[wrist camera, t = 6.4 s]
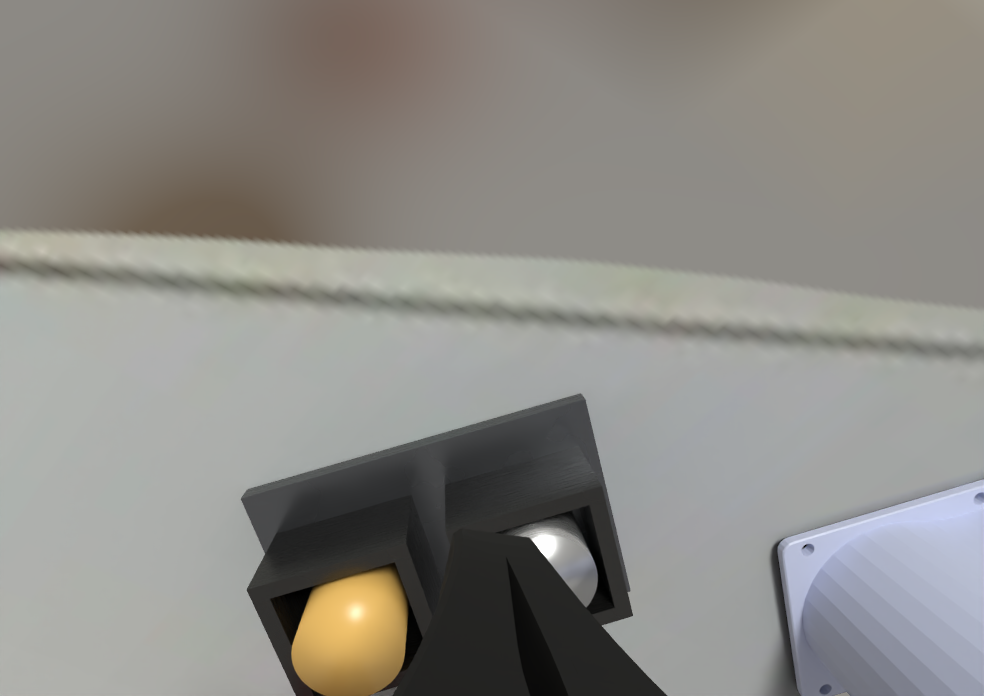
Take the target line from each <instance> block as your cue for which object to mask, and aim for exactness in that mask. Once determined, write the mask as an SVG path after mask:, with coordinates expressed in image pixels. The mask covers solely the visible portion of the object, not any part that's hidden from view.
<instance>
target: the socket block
mask: <svg viewBox="0 0 984 696" xmlns="http://www.w3.org/2000/svg"><path fill="white" fill-rule="evenodd" d="M241 500H242V502H243V505H244V507H245V509H246V511H247V514H248V516H249V518H250V520H251V523H252V525H253V527H254V529H255V532H256V534H257V536H258V538H259V541H260V543H261V545H262V547H263V550H264V552H265V556H264V557H263V559H262V561H261V563H260V565H259V567H258V569H257V571H256V573H255V575H254V577H253V579H252V581H251V583H250V584H249V586H248V588H247V592H248V594H249V596H250V598H251V600H252V602H253V604H254V607H255V609H256V611H257V613H258V615H259V617H260V619H261V622H262V624H263V626H264V628H265V630H266V632H267V634H268V637H269V639H270V641H271V643H272V645H273V647H274V649H275V652H276V654H277V656H278V658H279V660H280V662H281V664H282V667H283V669H284V671H285V673H286V675H287V677H288V679H289V682H290V684H291V686H292V688H293V690H294V692H295V694H296V696H325V695H323V694H320V693H318V692H316V691H314V690H313V689H311V688H310V687H308V686H307V685H306V684H305V683H304V682H303V681H302V680H301V679H300V677H299V676H298V675H297V673H296V671H295V669H294V666H293V663H292V655H291V651H292V645H293V642H294V639H295V636H296V633H297V630H298V627H299V624H300V621H301V618H302V615H303V613H304V610H305V607H306V604H307V601H308V598H309V595H310V592H311V590H312V587H313V586H315V585H319V584H322V583H325V582H329V581H332V580H336V579H339V578H342V577H346V576H349V575H353V574H356V573H360V572H363V571H366V570H370V569H373V568H377V567H380V566H383V565H387V564H390V563H394V562H395V564H396V567H397V570H398V572H399V575H400V578H401V580H402V583H403V586H404V589H405V591H406V594H407V597H408V599H409V611H408V622H407V634H406V646H405V657H404V662H403V665H402V668H401V669H400V671H399V673H398V675H397V676H396V677H395V679H394V680H393V681H392V682H391V683H390V684H388V685H387V686H386V687H385V688H383V689H382V690H380V691H383V690H386V689H390V688H393V687H396V686H399V684H400V682H401V680H402V679H403V677H404V675H405V673H406V671H407V669H408V668H409V666H410V664H411V662H412V660H413V658H414V656H415V654H416V652H417V650H418V648H419V646H420V644H421V642H422V640H423V637H424V635H425V633H426V631H427V629H428V626H429V624H430V622H431V620H432V618H433V616H434V613H435V611H436V609H437V606H438V601H439V597H440V592H441V587H442V583H443V578H444V574H445V569H446V564H447V560H448V555H449V550H450V546H451V541H452V536H453V533H455V532H456V531H458V530H459V529H461V528H462V529H469V530H477V531H484V532H492V533H496V532H499V531H503V530H506V529H510V528H513V527H517V526H520V525H523V524H527V523H530V522H534V521H537V520H540V519H544V518H547V517H551V516H554V515H557V514H561V513H564V512H568V511H571V510H572V512H573V515H574V517H575V519H576V521H577V524H578V526H579V528H580V531H581V533H582V535H583V537H584V540H585V542H586V544H587V547H588V549H589V551H590V553H591V556H592V558H593V560H594V562H595V565H596V568H597V574H598V582H597V588H596V592H595V594H594V596H593V599H592V600H591V602H590V604H589V605H588V606H587V607H586V608H587V609H588V611H589V612H590V613H591V614H592V615H593V617H594V618H595V619H596V620H597V621H598V622H599V624H600V625H604V624H608V623H611V622H614V621H618V620H621V619H625V618H628V617H631V616H633V614H632V609H631V605H630V601H629V597H628V593H627V592H629V591H630V587H629V582H628V578H627V574H626V570H625V565H624V561H623V557H622V553H621V548H620V544H619V540H618V536H617V532H616V527H615V523H614V519H613V515H612V510H611V506H610V502H609V498H608V493H607V489H606V485H605V481H604V477H603V472H602V468H601V464H600V460H599V455H598V451H597V447H596V443H595V439H594V434H593V430H592V426H591V422H590V417H589V413H588V409H587V405H586V400H585V398H584V397H583V396H582V394H577V395H574V396H570V397H567V398H563V399H560V400H557V401H553V402H550V403H546V404H543V405H539V406H536V407H532V408H529V409H525V410H522V411H518V412H515V413H511V414H508V415H504V416H501V417H498V418H494V419H491V420H487V421H484V422H480V423H477V424H473V425H470V426H466V427H463V428H459V429H456V430H452V431H449V432H445V433H442V434H439V435H435V436H432V437H428V438H425V439H421V440H418V441H414V442H411V443H407V444H404V445H400V446H397V447H393V448H390V449H386V450H383V451H380V452H376V453H373V454H369V455H366V456H362V457H359V458H355V459H352V460H348V461H345V462H341V463H338V464H334V465H331V466H328V467H324V468H321V469H317V470H314V471H310V472H307V473H303V474H300V475H296V476H293V477H289V478H286V479H282V480H279V481H275V482H272V483H269V484H265V485H262V486H258V487H255V488H251V489H248V490H247V491H246V492H245V493H244V495H243V496H242V498H241ZM380 691H378V692H380Z"/></svg>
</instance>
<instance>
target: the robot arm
mask: <svg viewBox="0 0 984 696" xmlns="http://www.w3.org/2000/svg"><path fill="white" fill-rule="evenodd" d="M806 544H807V546H806V547H805V548H803V546H804V545H806ZM802 548H803V549H802ZM778 558H779V565H780V572H781V579H782V586H783V593H784V600H785V607H786V614H787V621H788V627H789V634H790V641H791V648H792V655H793V662H794V669H795V676H796V683H797V689H798V692H799V693H800V695H801V696H834V695H837V694H840V693H844V692H847V693H848V694H849V695H850V696H984V479H983V480H979V481H976V482H972V483H969V484H966V485H962V486H959V487H956V488H952V489H949V490H946V491H942V492H939V493H935V494H932V495H929V496H925V497H922V498H919V499H915V500H912V501H908V502H905V503H902V504H898V505H895V506H892V507H888V508H885V509H882V510H878V511H875V512H871V513H868V514H865V515H861V516H858V517H855V518H851V519H848V520H844V521H841V522H838V523H834V524H831V525H828V526H824V527H821V528H817V529H814V530H811V531H807V532H804V533H801V534H797V535H794V536H791V537H788V538H786V539H783V540H782V541H781V542H780V544H779V546H778ZM393 696H667V695H666V694H665V693H664V692H663V691H662V690H661V689H660V688H659V687H658V686H657V685H656V684H655V683H654V682H653V681H652V680H651V679H650V678H649V677H648V676H647V675H646V674H645V673H644V672H643V671H642V670H641V669H640V668H639V666H638V665H637V664H636V663H635V662H634V661H633V660H632V659H631V658H630V657H629V656H628V655H627V654H626V653H625V651H624V650H623V649H622V648H621V647H620V646H619V645H618V644H617V643H616V642H615V641H614V640H613V638H612V637H611V636H610V635H609V634H608V633H607V632H606V630H605V629H604V628H603V627H602V626H601V625H600V624H599V622H598V621H597V620H596V619H595V618H594V617H593V615H592V614H591V613H590V612H589V611H588V609H587V608H586V607H585V606H584V605H583V603H582V602H581V601H580V600H579V599H578V597H577V596H576V595H575V594H574V592H573V591H572V590H571V589H570V587H569V586H568V585H567V584H566V582H565V581H564V580H563V579H562V577H561V576H560V575H559V574H558V572H557V571H556V570H555V568H554V567H553V566H552V565H551V563H550V562H549V561H548V560H547V558H546V557H545V556H544V554H543V553H542V552H541V551H540V549H539V548H538V547H537V546H536V544H535V543H534V542H533V541H532V540H531V539H530V538H529V537H521V536H514V535H507V534H499V533H492V532H484V531H477V530H469V529H462V528H461V529H459V530H458V531H456V532H455V533H453V536H452V541H451V546H450V550H449V555H448V560H447V564H446V569H445V574H444V578H443V583H442V587H441V592H440V597H439V601H438V606H437V609H436V611H435V613H434V616H433V618H432V620H431V622H430V624H429V626H428V629H427V631H426V633H425V635H424V637H423V640H422V642H421V644H420V646H419V648H418V650H417V652H416V654H415V656H414V658H413V660H412V662H411V664H410V666H409V668H408V669H407V671H406V673H405V675H404V677H403V679H402V680H401V682H400V684H399V686H398V687H397V689H396V691H395V692H394V694H393Z"/></svg>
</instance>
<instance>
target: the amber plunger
mask: <svg viewBox="0 0 984 696" xmlns="http://www.w3.org/2000/svg"><path fill="white" fill-rule="evenodd" d="M408 611H409V599H408V597H407V594H406V591H405V589H404V586H403V583H402V580H401V578H400V575H399V572H398V570H397V567H396V564H395V562H394V563H390V564H387V565H383V566H380V567H377V568H373V569H370V570H366V571H363V572H360V573H356V574H353V575H349V576H346V577H342V578H339V579H336V580H332V581H329V582H325V583H322V584H319V585H315V586H313V587H312V590H311V592H310V595H309V598H308V601H307V604H306V607H305V610H304V613H303V615H302V618H301V621H300V624H299V627H298V630H297V633H296V636H295V639H294V642H293V645H292V651H291V655H292V663H293V666H294V669H295V671H296V673H297V675H298V676H299V677H300V679H301V680H302V681H303V682H304V683H305V684H306V685H307V686H308V687H310V688H311V689H313V690H314V691H316V692H318V693H320V694H323V695H325V696H369V695H371V694H374V693H376V692H378V691H380V690H382V689H383V688H385V687H386V686H387V685H388V684H390V683H391V682H392V681H393V680H394V679H395V677H396V676H397V675H398V673H399V671H400V669H401V668H402V665H403V662H404V657H405V646H406V634H407V622H408Z"/></svg>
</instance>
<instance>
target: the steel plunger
mask: <svg viewBox="0 0 984 696" xmlns="http://www.w3.org/2000/svg"><path fill="white" fill-rule="evenodd" d="M496 533H499V534H507V535H514V536H521V537H529V538H530V539H531V540H532V541H533V542H534V543H535V544H536V546H537V547H538V548H539V549H540V551H541V552H542V553H543V554H544V556H545V557H546V558H547V560H548V561H549V562H550V563H551V565H552V566H553V567H554V568H555V570H556V571H557V572H558V574H559V575H560V576H561V577H562V579H563V580H564V581H565V582H566V584H567V585H568V586H569V587H570V589H571V590H572V591H573V592H574V594H575V595H576V596H577V597H578V599H579V600H580V601H581V602H582V603H583V605H584V606H585V607H587V606H588V605H589V604H590V602H591V600H592V599H593V596H594V594H595V592H596V588H597V582H598V574H597V568H596V565H595V562H594V560H593V558H592V556H591V553H590V551H589V549H588V547H587V544H586V542H585V540H584V537H583V535H582V533H581V531H580V528H579V526H578V524H577V521H576V519H575V517H574V515H573V512H572V510H571V511H568V512H564V513H561V514H557V515H554V516H551V517H547V518H544V519H540V520H537V521H534V522H530V523H527V524H523V525H520V526H517V527H513V528H510V529H506V530H503V531H499V532H496Z"/></svg>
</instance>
